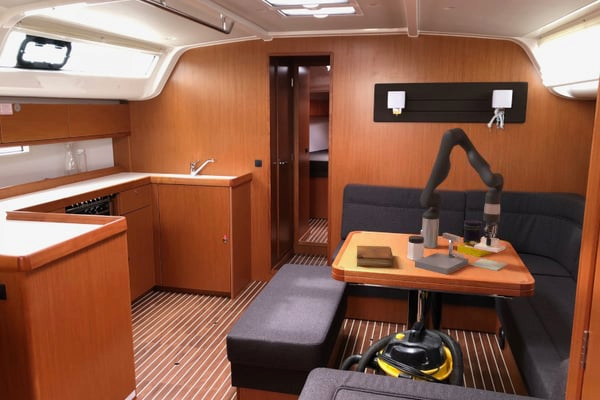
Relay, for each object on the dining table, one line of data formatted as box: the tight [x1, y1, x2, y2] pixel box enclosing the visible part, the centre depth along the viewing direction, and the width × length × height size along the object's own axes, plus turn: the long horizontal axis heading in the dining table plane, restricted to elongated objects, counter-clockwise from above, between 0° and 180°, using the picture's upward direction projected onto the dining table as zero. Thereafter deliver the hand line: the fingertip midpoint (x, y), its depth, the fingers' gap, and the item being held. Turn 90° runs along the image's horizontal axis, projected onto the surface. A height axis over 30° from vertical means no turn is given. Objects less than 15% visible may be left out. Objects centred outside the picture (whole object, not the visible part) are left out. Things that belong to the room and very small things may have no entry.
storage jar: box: [462, 219, 482, 243], centre depth 288 cm, size 10×10×15 cm
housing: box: [414, 252, 470, 276], centre depth 250 cm, size 18×23×3 cm
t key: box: [442, 232, 465, 258], centre depth 253 cm, size 2×14×11 cm, turn 26°
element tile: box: [456, 241, 493, 258], centre depth 276 cm, size 15×15×5 cm
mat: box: [469, 258, 508, 272], centre depth 251 cm, size 14×14×1 cm
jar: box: [406, 235, 425, 262], centre depth 262 cm, size 9×8×12 cm
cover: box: [474, 236, 506, 253], centre depth 249 cm, size 12×10×6 cm
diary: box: [356, 245, 395, 269], centre depth 259 cm, size 23×19×6 cm
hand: (489, 244), depth 249 cm, fingers closed on cover, 3 cm apart
